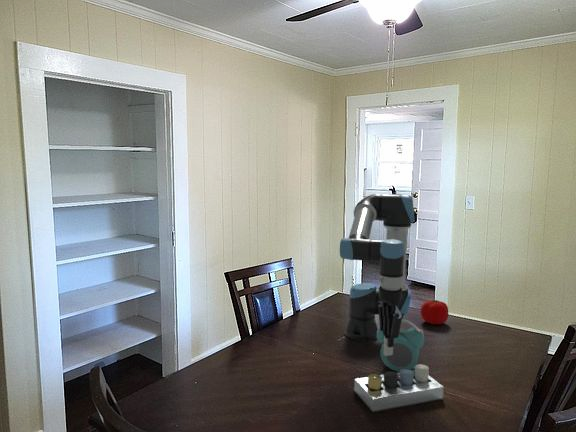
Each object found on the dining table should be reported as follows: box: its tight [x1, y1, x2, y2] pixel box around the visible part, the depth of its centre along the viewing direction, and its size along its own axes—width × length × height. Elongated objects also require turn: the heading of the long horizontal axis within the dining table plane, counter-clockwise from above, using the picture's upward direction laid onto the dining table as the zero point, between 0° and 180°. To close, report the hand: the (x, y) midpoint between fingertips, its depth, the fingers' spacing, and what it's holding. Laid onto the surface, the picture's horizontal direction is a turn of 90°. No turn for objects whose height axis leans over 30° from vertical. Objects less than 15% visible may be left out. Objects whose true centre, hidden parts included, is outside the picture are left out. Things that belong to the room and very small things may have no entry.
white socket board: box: [353, 369, 445, 413], centre depth 143 cm, size 13×26×4 cm, turn 107°
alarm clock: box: [377, 318, 425, 372], centre depth 162 cm, size 17×10×20 cm, turn 71°
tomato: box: [420, 299, 449, 326], centre depth 209 cm, size 12×13×12 cm
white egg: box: [414, 363, 430, 384], centre depth 146 cm, size 4×4×6 cm
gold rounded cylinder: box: [367, 373, 382, 392], centre depth 140 cm, size 4×4×6 cm
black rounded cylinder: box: [383, 371, 398, 389], centre depth 142 cm, size 4×4×6 cm
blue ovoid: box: [400, 369, 413, 386], centre depth 144 cm, size 4×4×6 cm
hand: (388, 354), depth 144 cm, fingers closed
